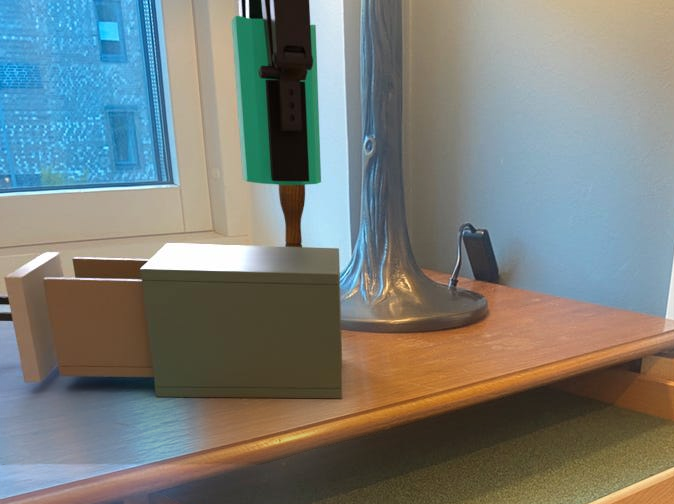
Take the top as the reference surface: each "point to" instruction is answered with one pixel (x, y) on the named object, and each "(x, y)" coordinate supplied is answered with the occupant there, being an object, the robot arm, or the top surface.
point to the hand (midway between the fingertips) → (281, 175)
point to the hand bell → (292, 212)
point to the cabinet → (244, 321)
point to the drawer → (79, 317)
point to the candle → (254, 104)
